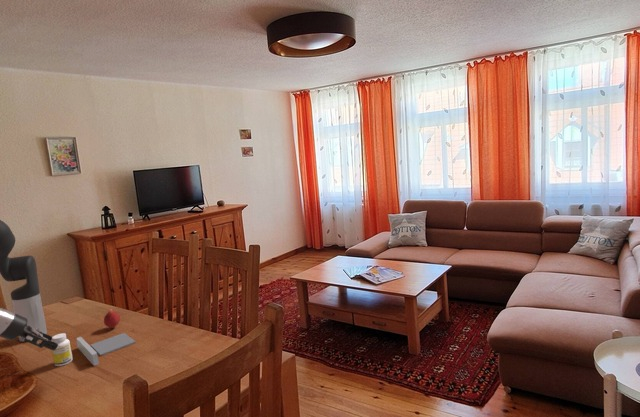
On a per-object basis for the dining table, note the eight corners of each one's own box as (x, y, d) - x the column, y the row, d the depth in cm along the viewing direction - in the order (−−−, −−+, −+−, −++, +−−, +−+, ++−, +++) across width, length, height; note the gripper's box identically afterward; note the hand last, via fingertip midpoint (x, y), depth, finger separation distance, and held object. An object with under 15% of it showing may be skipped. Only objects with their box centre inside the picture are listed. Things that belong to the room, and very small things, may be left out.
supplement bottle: (60, 359, 139) (55, 333, 137) (76, 357, 139) (71, 331, 138) (51, 367, 133) (46, 340, 132) (67, 365, 134) (63, 338, 132)
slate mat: (90, 345, 148) (90, 344, 147) (124, 334, 156) (124, 332, 156) (100, 355, 139) (100, 354, 139) (135, 342, 147) (135, 341, 147)
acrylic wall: (78, 348, 146) (76, 338, 146) (82, 346, 147) (80, 336, 147) (94, 366, 132) (92, 354, 132) (99, 364, 133) (97, 353, 133)
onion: (114, 331, 159) (111, 312, 158) (102, 331, 160) (99, 312, 159) (124, 325, 164) (121, 307, 163) (112, 325, 166) (109, 306, 164)
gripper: (17, 318, 121) (66, 339, 130) (10, 307, 131) (56, 328, 140) (-2, 341, 118) (50, 360, 127) (-7, 328, 128) (41, 347, 137)
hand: (53, 343), depth 134 cm, fingers open, 8 cm apart
